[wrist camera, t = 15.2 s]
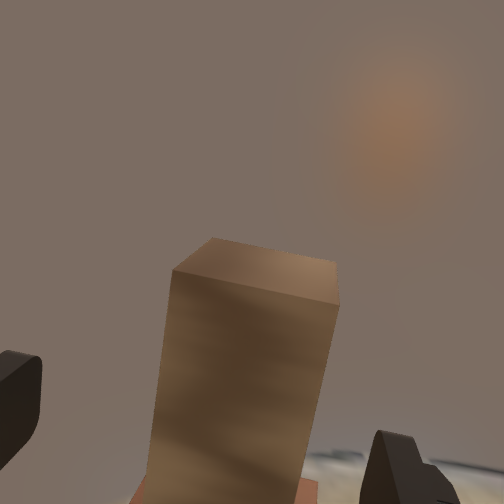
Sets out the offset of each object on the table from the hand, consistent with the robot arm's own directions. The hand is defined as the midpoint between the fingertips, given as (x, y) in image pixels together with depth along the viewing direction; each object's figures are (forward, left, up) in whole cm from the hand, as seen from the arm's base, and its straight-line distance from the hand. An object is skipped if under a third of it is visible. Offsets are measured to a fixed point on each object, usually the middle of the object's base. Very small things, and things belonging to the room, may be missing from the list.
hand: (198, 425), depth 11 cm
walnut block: (-1, -5, -7) cm, 9 cm away
